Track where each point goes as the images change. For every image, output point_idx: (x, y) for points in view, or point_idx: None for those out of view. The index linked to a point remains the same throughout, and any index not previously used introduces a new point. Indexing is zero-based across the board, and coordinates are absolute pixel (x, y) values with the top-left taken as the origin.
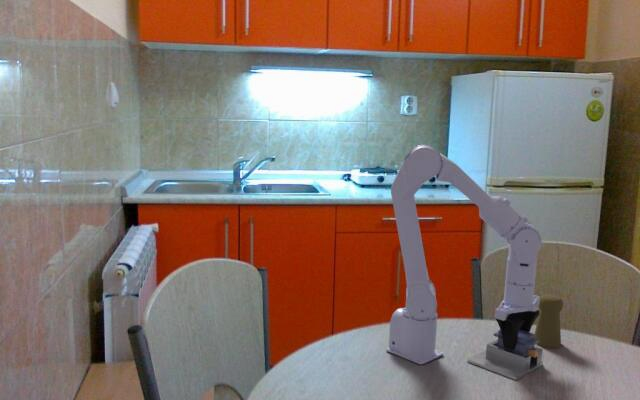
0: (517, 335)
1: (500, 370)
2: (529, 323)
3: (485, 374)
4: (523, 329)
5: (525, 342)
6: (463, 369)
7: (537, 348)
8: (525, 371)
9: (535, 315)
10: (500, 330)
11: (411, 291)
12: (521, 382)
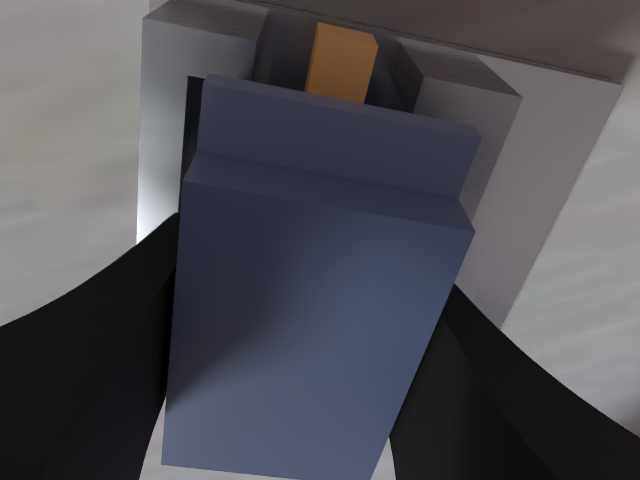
0: (465, 336)
1: (542, 214)
2: (127, 364)
3: (591, 266)
4: (158, 339)
5: (459, 204)
6: (572, 368)
7: (165, 75)
8: (471, 57)
9: (31, 462)
10: (362, 476)
11: None
12: (631, 30)
